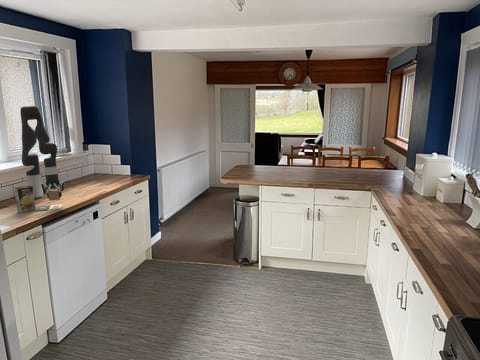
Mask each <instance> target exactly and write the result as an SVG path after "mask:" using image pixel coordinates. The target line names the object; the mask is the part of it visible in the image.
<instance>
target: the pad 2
mask: <svg viewBox="0 0 480 360" xmlns="http://www.w3.org/2000/svg"><path fill="white" fill-rule="evenodd" d="M63 206H64V205H63V204H61V203H60V204H52V205H51V204H50V207H49V209H48V211H53V210H54V211H55V210H56V211H57V210H62V208H63Z"/></svg>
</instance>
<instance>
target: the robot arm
mask: <svg viewBox="0 0 480 360" xmlns="http://www.w3.org/2000/svg"><path fill="white" fill-rule="evenodd" d="M20 120H21V148H22V149H21V164H22V166H24V167H31V166H33V167H32V168H30V169H29V170H27V171H26V172H25V176H26V181H27V186H32V187H33V193H34V199H36V198H37V199H38V198H41V197H42V198H43V196H44V193H45V194H46V198H47V199H49V195H48V191H50V190H53V189H57V190H59V197H60V198H62V196H63V195H62V192H64V191H65V181H60V179H59V172H58V166H57V153H58V146H57V144H56V143H54V142H50V140H51V139H50V136H49V135H48V132H47V130H46V128H45V127H46V126H45V123H44V121H43V117H42V114H41V111H40V108H39V107H38V106H37V105H27V106H26V105H25V106H21V107H20ZM33 120H34V121H35V120H36V125H35V128H33V127H32V126H31V125H30V123H28V121H33ZM37 142H38V152H40V154H41V155H50V156H48V157H45V158H44V159H43V163H44V176H45V182H44V183H43V182H42V176H41V169H40V157H39V154H37V153H36V152H35V153H30V151H31V150H32V149H33V148H34V146H36V144H37ZM46 186H47V190H46ZM60 186H61V187H60Z"/></svg>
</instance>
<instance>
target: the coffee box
mask: <svg viewBox="0 0 480 360" xmlns="http://www.w3.org/2000/svg"><path fill="white" fill-rule="evenodd" d="M14 194H15V202H16V210H17V212H18V213H20V214H23V213H27V212H32V211H35V210H36V209H37V207H36V201H35V198H34V193H33V187H32V186H28V185H24V186H17V187H14Z"/></svg>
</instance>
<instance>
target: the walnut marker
mask: <svg viewBox="0 0 480 360" xmlns="http://www.w3.org/2000/svg"><path fill="white" fill-rule="evenodd" d="M48 195H49V198H48V200H49V201H50V202H51V201H58V200H59V201H60V199H61V197H59V190H57V189H56V188H54V189H50V191H48Z"/></svg>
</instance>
